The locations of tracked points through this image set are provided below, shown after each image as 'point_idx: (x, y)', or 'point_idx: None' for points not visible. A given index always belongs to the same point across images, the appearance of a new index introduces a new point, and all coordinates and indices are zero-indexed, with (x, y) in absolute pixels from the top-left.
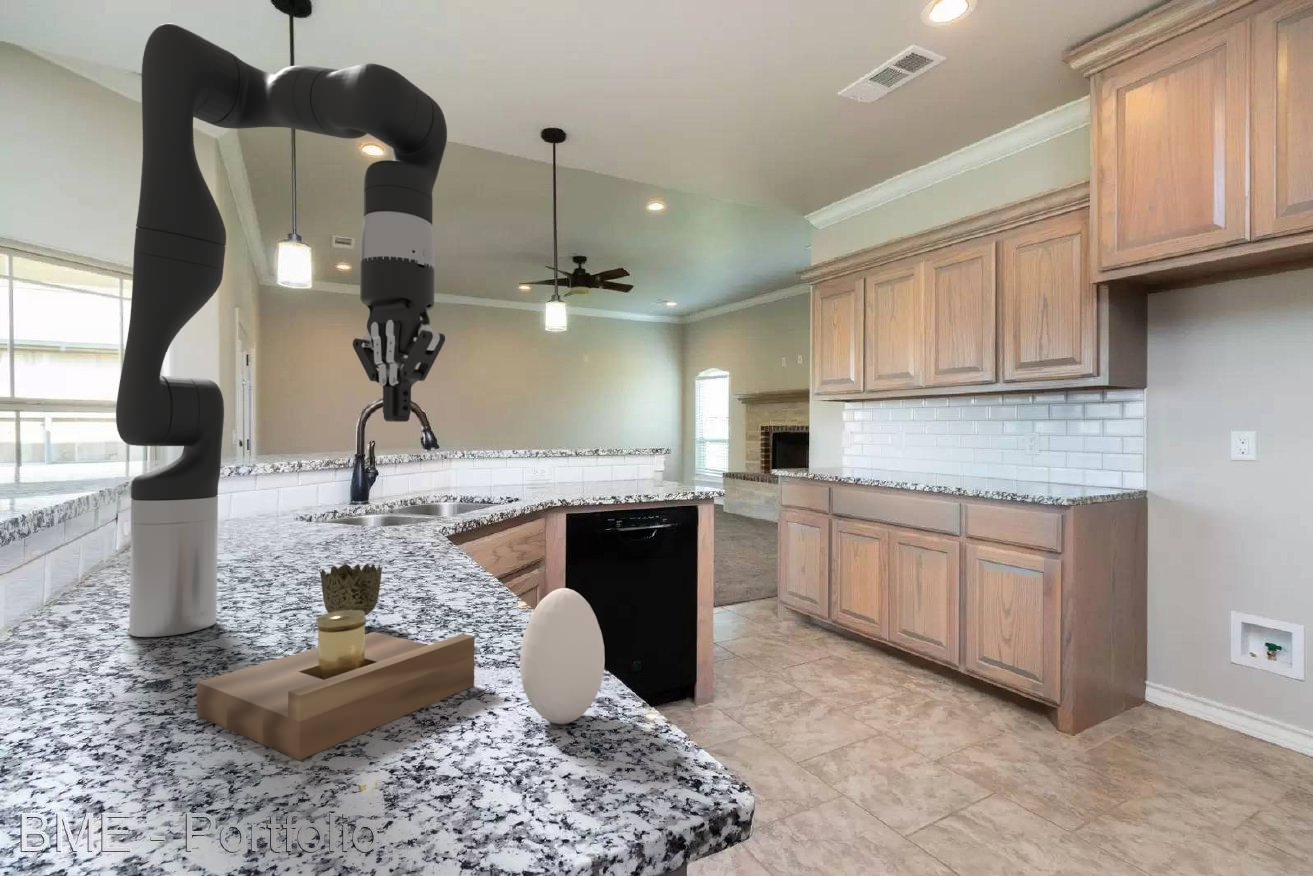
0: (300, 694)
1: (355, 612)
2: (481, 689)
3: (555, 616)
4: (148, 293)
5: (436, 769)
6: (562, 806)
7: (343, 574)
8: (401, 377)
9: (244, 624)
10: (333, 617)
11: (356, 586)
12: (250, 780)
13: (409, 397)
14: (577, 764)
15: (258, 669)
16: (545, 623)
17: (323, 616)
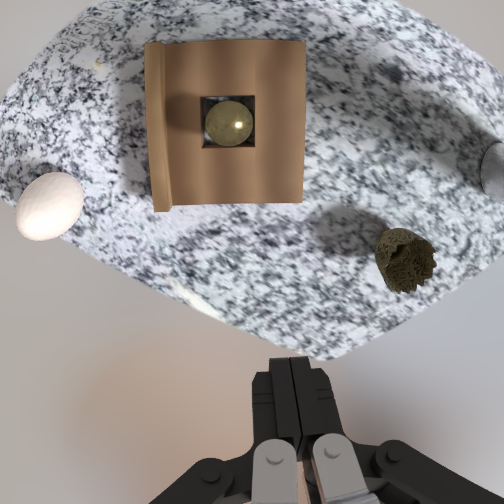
0: (146, 44)
1: (228, 138)
2: None
3: (20, 199)
4: None
5: (81, 101)
6: (18, 126)
7: (426, 269)
8: (224, 463)
9: (468, 202)
10: (228, 113)
11: (386, 250)
12: (160, 25)
13: (253, 433)
14: (35, 158)
15: (292, 81)
16: (26, 192)
17: (243, 111)
